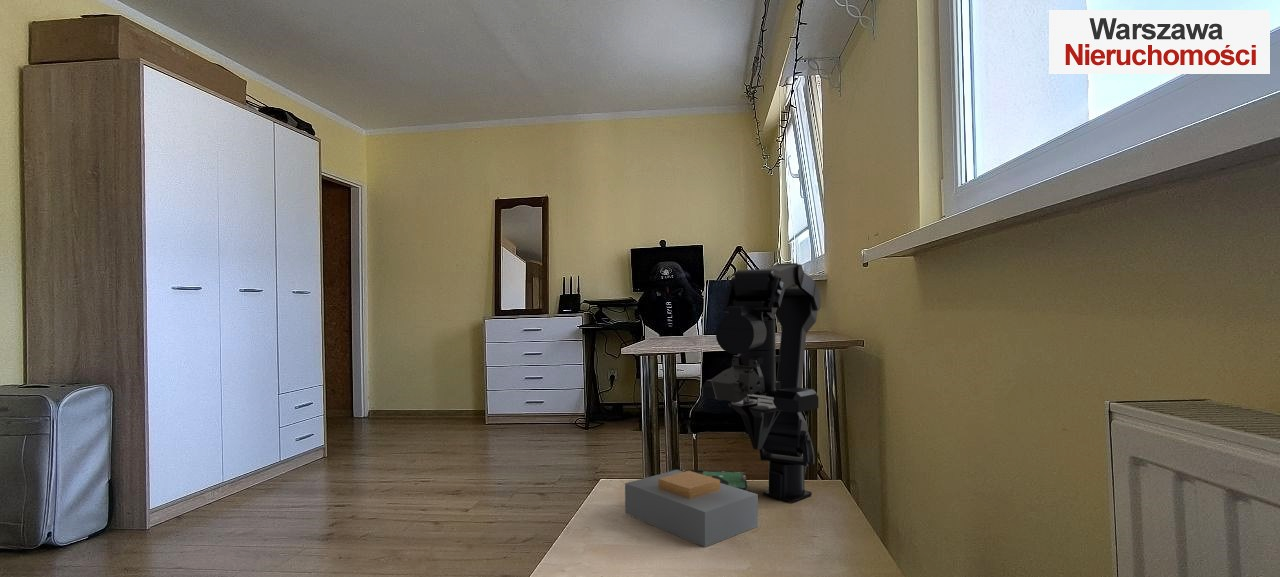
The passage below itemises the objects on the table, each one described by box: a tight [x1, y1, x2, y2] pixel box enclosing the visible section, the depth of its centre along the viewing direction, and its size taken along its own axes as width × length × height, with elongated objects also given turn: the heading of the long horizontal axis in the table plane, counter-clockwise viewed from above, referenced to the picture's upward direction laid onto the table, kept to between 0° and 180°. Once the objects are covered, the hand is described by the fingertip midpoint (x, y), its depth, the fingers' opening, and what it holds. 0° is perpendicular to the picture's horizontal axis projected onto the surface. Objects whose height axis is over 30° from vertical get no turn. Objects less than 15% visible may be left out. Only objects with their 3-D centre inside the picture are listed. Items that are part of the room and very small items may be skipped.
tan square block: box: [658, 471, 720, 499], centre depth 97 cm, size 7×7×6 cm
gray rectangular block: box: [624, 469, 759, 548], centre depth 97 cm, size 12×18×5 cm, turn 41°
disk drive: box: [668, 468, 748, 491], centre depth 113 cm, size 10×3×15 cm
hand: (757, 449), depth 94 cm, fingers closed
